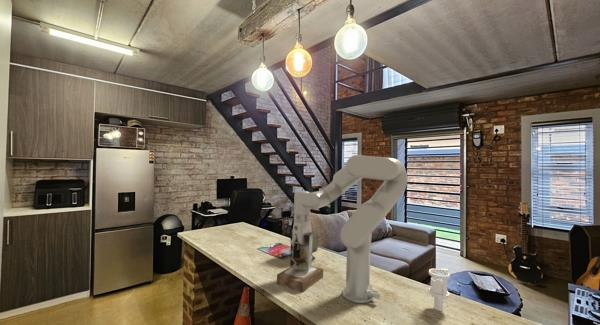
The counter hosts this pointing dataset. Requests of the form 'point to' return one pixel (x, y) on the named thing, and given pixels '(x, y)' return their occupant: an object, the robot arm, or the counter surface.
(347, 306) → the counter surface
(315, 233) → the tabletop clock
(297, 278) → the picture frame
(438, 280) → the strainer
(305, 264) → the coffee box
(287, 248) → the tablet
